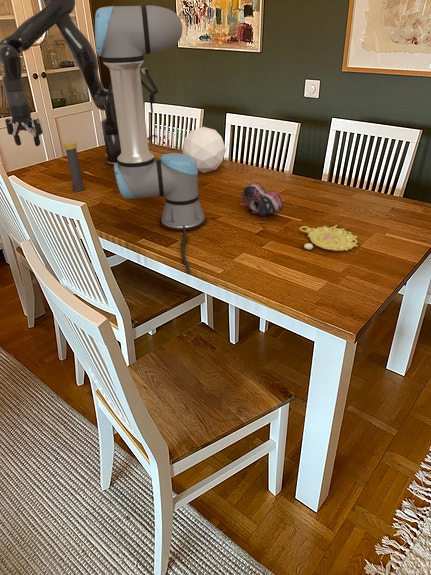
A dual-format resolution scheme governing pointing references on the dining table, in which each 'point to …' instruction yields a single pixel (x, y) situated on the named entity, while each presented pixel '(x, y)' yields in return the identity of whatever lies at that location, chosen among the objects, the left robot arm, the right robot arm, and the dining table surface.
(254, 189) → the athletic shoe
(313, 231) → the decorative object
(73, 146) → the lid
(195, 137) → the sphere
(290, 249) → the dining table surface
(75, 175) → the dark grey cylinder
